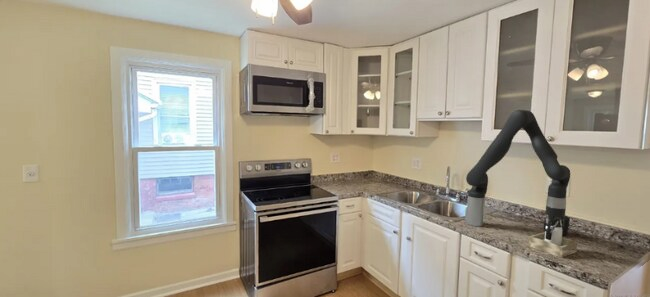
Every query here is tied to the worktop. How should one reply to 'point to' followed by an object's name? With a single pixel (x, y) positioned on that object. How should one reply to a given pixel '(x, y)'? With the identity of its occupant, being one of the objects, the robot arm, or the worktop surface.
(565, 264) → the worktop surface
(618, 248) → the worktop surface
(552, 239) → the can
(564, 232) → the pen holder
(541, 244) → the bore box
